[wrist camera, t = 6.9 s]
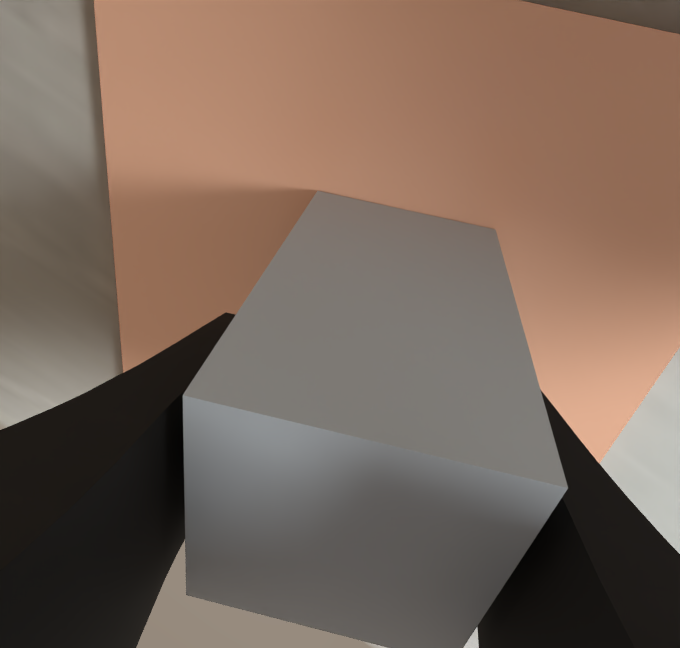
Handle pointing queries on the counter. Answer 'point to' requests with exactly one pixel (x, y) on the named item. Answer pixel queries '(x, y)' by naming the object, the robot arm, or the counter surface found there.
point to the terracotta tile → (404, 164)
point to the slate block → (369, 433)
